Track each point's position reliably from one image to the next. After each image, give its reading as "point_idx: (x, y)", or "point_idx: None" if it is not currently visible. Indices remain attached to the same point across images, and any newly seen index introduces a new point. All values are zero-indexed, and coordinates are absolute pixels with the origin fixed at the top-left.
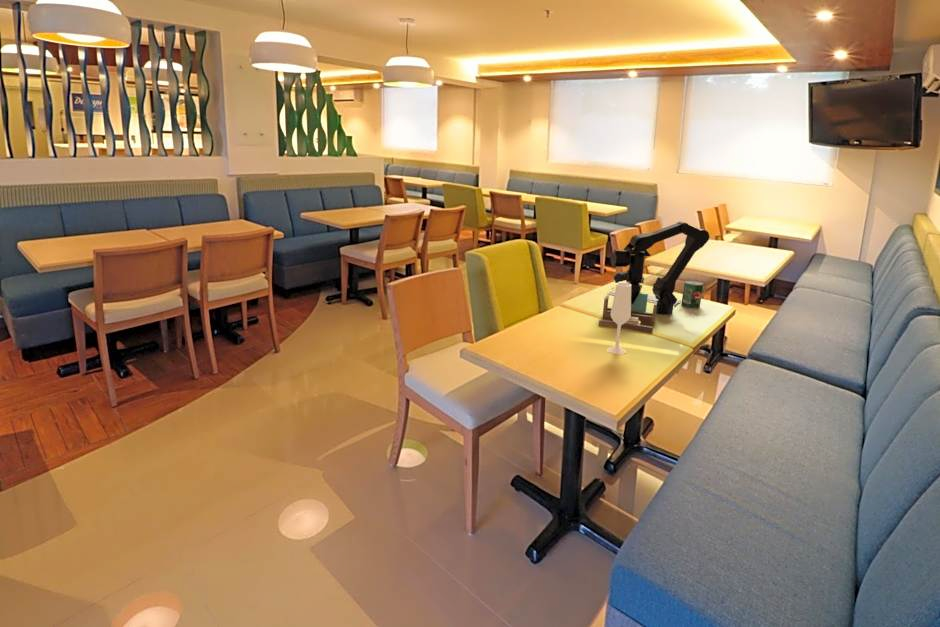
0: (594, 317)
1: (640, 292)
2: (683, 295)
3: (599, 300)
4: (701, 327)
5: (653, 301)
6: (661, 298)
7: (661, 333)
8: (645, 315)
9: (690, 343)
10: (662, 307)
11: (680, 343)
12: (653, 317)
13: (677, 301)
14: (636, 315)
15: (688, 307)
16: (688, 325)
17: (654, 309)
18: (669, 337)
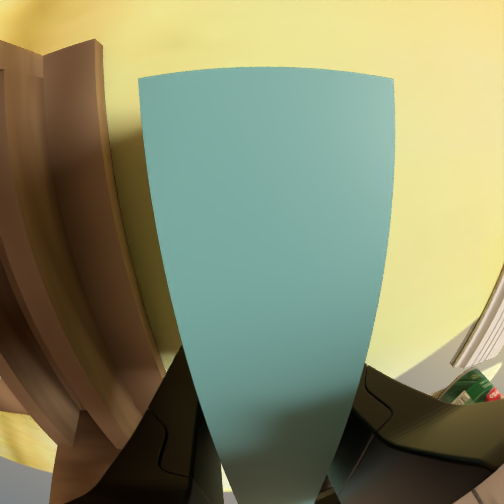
0: (15, 15)
1: (304, 502)
2: (481, 402)
3: (472, 8)
4: (224, 484)
5: (502, 288)
6: (318, 497)
7: (37, 425)
8: (48, 422)
9: (41, 469)
10: None
11: (15, 452)
12: (61, 448)
13: (487, 356)
14: (3, 378)
15: (439, 399)
16: (222, 469)
17: (55, 491)
18: (27, 439)
